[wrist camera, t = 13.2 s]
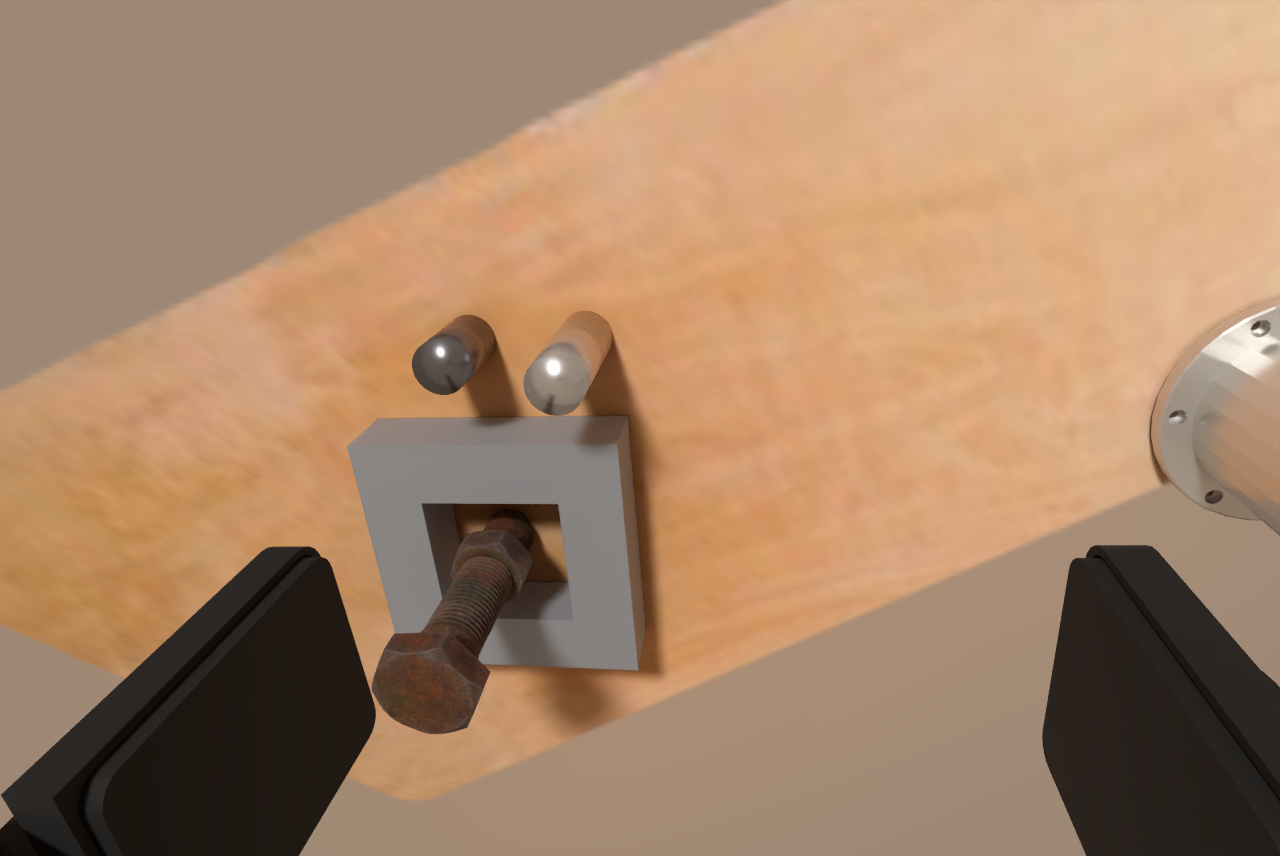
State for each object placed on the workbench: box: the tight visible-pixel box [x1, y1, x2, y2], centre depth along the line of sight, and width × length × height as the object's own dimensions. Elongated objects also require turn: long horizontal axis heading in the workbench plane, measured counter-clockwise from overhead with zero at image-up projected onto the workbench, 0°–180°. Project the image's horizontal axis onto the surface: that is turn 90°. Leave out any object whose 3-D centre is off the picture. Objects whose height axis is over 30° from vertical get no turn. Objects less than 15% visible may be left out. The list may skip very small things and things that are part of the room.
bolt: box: [372, 510, 533, 734], centre depth 42 cm, size 6×5×15 cm
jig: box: [347, 416, 646, 670], centre depth 47 cm, size 16×16×4 cm
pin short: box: [412, 315, 496, 395], centre depth 42 cm, size 3×3×5 cm
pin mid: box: [524, 311, 613, 416], centre depth 39 cm, size 3×3×8 cm
